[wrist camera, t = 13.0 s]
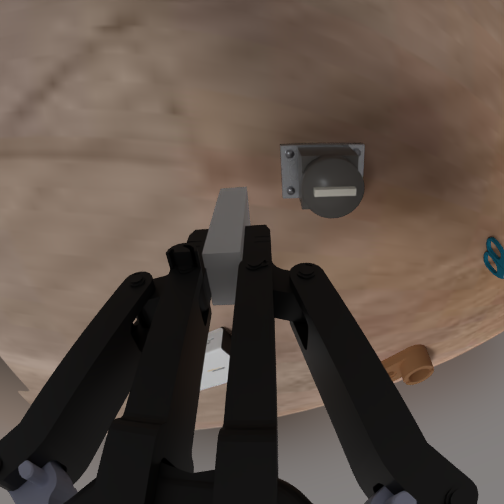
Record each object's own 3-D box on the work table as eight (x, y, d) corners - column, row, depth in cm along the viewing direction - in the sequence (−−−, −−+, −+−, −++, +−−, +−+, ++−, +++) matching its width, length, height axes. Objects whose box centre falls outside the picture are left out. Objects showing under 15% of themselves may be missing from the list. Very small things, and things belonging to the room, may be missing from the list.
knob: (297, 197, 45) (303, 222, 38) (295, 145, 40) (303, 162, 34) (348, 195, 44) (363, 220, 38) (350, 145, 40) (368, 162, 33)
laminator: (224, 324, 62) (221, 347, 57) (256, 355, 68) (256, 377, 63) (123, 364, 73) (117, 382, 68) (155, 387, 79) (151, 405, 74)
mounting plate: (280, 144, 41) (282, 153, 37) (362, 143, 40) (373, 152, 36) (282, 195, 46) (284, 210, 41) (359, 193, 45) (369, 207, 41)
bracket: (421, 339, 65) (430, 361, 59) (428, 353, 69) (436, 373, 63) (359, 371, 72) (364, 393, 66) (370, 382, 75) (375, 403, 69)
